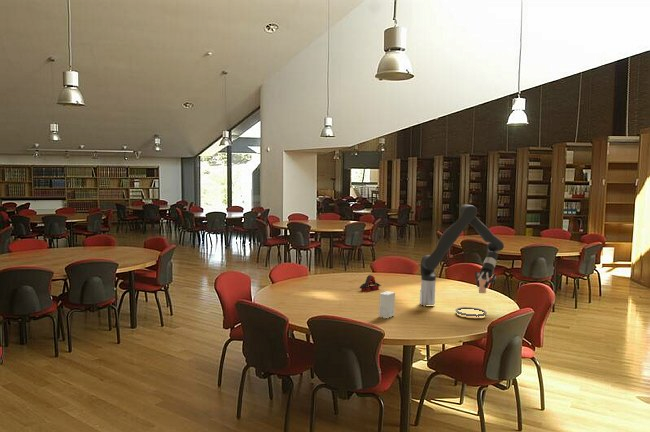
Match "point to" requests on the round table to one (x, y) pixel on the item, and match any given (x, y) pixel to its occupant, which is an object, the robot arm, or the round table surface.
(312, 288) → the round table surface
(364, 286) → the logo sign
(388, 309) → the skincare box
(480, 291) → the clay spool
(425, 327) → the round table surface
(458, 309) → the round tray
